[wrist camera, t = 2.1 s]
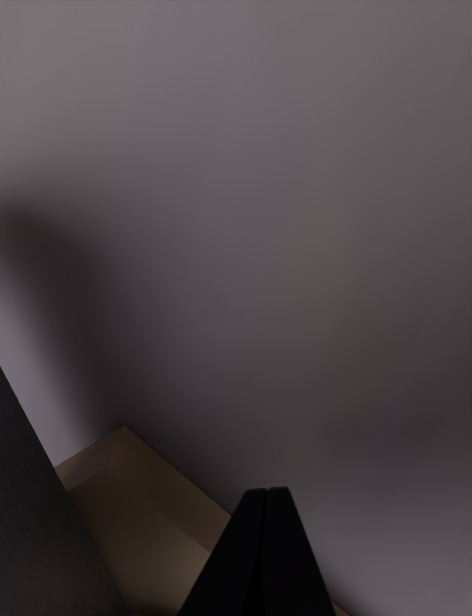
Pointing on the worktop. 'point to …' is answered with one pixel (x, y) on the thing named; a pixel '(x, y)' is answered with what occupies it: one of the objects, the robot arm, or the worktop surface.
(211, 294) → the worktop surface
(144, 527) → the block
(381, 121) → the worktop surface
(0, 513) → the amber-knobbed lever
